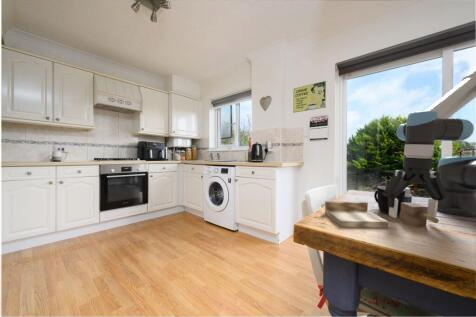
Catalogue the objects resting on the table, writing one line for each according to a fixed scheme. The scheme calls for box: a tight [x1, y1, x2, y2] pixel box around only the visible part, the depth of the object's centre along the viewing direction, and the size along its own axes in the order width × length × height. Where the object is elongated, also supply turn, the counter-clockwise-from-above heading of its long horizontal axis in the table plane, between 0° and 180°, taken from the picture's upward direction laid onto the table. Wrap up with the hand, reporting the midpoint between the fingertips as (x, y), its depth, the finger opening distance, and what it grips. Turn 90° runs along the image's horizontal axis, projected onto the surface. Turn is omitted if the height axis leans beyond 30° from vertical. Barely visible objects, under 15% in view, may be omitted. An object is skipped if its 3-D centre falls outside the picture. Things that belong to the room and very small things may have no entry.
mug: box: [373, 185, 405, 216], centre depth 84 cm, size 12×9×10 cm
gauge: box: [399, 202, 440, 228], centre depth 68 cm, size 5×11×7 cm, turn 179°
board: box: [324, 200, 390, 228], centre depth 74 cm, size 16×13×5 cm
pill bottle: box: [404, 187, 413, 203], centre depth 85 cm, size 5×5×10 cm
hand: (411, 217), depth 71 cm, fingers open, 13 cm apart
